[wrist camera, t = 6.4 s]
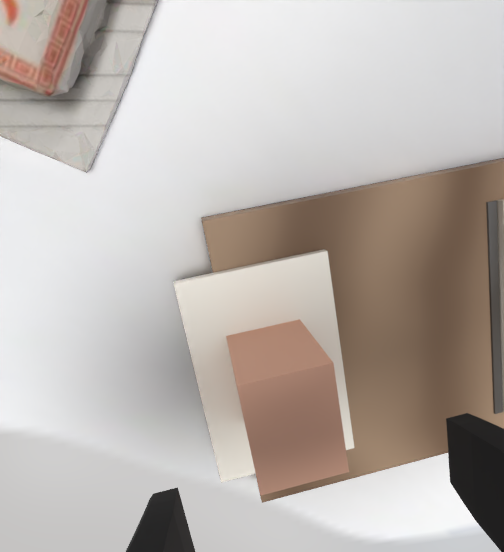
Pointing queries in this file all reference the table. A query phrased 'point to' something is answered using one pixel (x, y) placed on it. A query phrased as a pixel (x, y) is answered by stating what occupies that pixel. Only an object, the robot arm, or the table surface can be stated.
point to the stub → (270, 370)
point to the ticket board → (398, 301)
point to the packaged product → (66, 71)
